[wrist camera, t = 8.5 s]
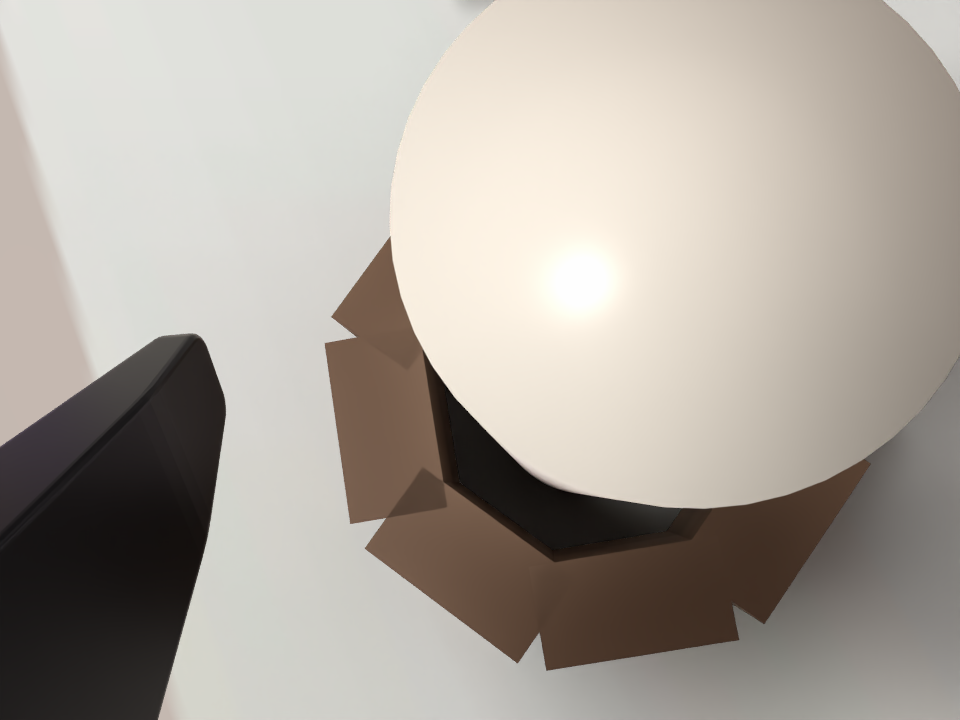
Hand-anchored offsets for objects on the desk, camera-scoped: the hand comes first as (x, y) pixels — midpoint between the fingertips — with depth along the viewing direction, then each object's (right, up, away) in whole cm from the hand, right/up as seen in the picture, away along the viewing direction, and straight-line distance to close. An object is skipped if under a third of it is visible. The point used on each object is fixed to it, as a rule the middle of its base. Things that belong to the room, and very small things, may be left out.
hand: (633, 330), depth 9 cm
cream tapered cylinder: (+1, -1, +9) cm, 9 cm away
